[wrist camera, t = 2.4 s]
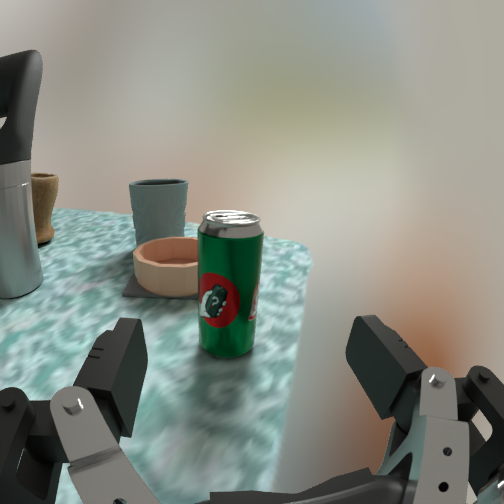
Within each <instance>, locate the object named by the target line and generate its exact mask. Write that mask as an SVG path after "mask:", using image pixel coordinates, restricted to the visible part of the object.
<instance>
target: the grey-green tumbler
mask: <svg viewBox="0 0 504 504" xmlns="http://www.w3.org/2000/svg"><path fill="white" fill-rule="evenodd" d="M187 189H188V181H186V180H181V179H152V180H143V181H136V182H132V183H130V184H129V190H130V198H131V206H132V211H133V222H134V228H135V231H136V234H135V236H136V244H137V247H138V245H140V244H143V243H145V242H148V241H150V240H153V239H159V238H166V237H184V227H185V206H186V200H187Z"/></svg>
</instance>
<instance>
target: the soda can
mask: <svg viewBox="0 0 504 504" xmlns="http://www.w3.org/2000/svg"><path fill="white" fill-rule="evenodd" d="M259 222H260V217H258V216H256V215H254V214H251V213H247V212H240V211H213V212H209V213H206V214H204V215H203V222H202V223H201V225H200V226H199V228H198V242H197V273H198V321H199V342H200V344H201V346H202V347H203V348H204V350H206V351H207V352H208V353H210V354H211V355H213V356H216V357H219V358H227V359H229V358H236V357H239V356H241V355H243V354H245V353H247V352H248V351H249V350H250V349H251V348H252V347H253V344H254V338H255V328H256V317H257V306H258V295H259V284H260V273H261V262H262V251H263V239H264V231H263V229H262V227H261V226H260V223H259Z"/></svg>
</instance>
